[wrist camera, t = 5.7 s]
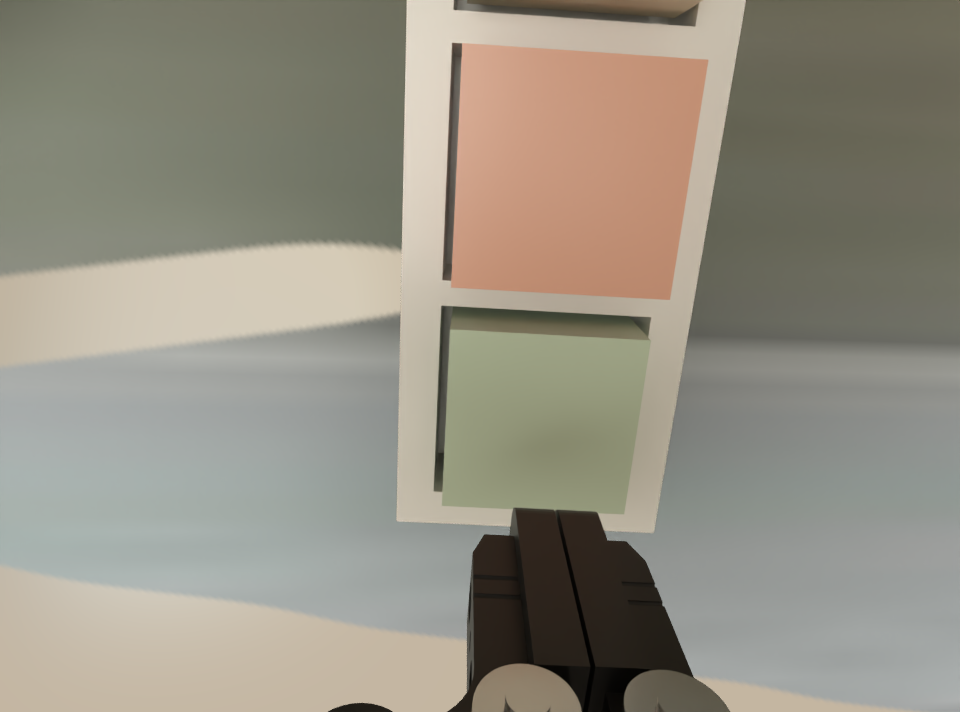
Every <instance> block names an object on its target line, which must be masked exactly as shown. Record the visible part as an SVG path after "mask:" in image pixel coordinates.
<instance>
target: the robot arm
mask: <svg viewBox="0 0 960 712" xmlns="http://www.w3.org/2000/svg"><path fill="white" fill-rule="evenodd" d="M328 712H392V711H391V710H389V709H387V708H384V707H382V706H378V705H374V704H368V703H354V704H348V705H343V706H340V707H337V708H335V709H332V710H330V711H328ZM448 712H730V711H729V709H728V708H727V706H726V704H725V703H724V702H723V701H722V700H721V698H720V697H719V696H718V695H717V694H716V693H715V692H713V691H712V690H711V689H710V688H708V687H707V686H706V685H705V684H703V683H701V682H700V681H698V680H697V679H695V678H694V677H693V675H692V672H691V670H690V667H689V665H688V663H687V660H686V658H685V655H684V653H683V650H682V648H681V646H680V643H679V641H678V638H677V636H676V634H675V631H674V629H673V626H672V624H671V621H670V619H669V617H668V614H667V612H666V609H665V607H664V606H662V600H661V597H660V595H659V592H658V590H657V588H655V583H654V580H653V578H652V575H651V573H650V571H649V568H648V566H647V563H646V561H645V560H644V559H643V558H642V557H641V556H640V555H639V554H638V553H637V552H636V551H635V550H634V549H633V548H632V547H631V546H630V545H629V544H628V543H627V542H625V541H607V538H606V535H605V532H604V529H603V526H602V523H601V521H600V518H599V515H598V513H597V512H594V511H576V510H555V511H554V510H553V509H535V508H516V507H514V508H513V511H512V517H511V527H510V536H504V535H485V534H484V536H483V538H482V539H481V541H480V542H479V544H478V545H477V547H476V548H475V550H474V552H473V557H472V569H471V581H470V593H469V606H468V618H467V693H466V695H465V696H464V697H463V699H462V700H461V701H460V702H459V703H458V704H457V705H456V706H455V707H453V708H452V709H451V710H449V711H448Z"/></svg>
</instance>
